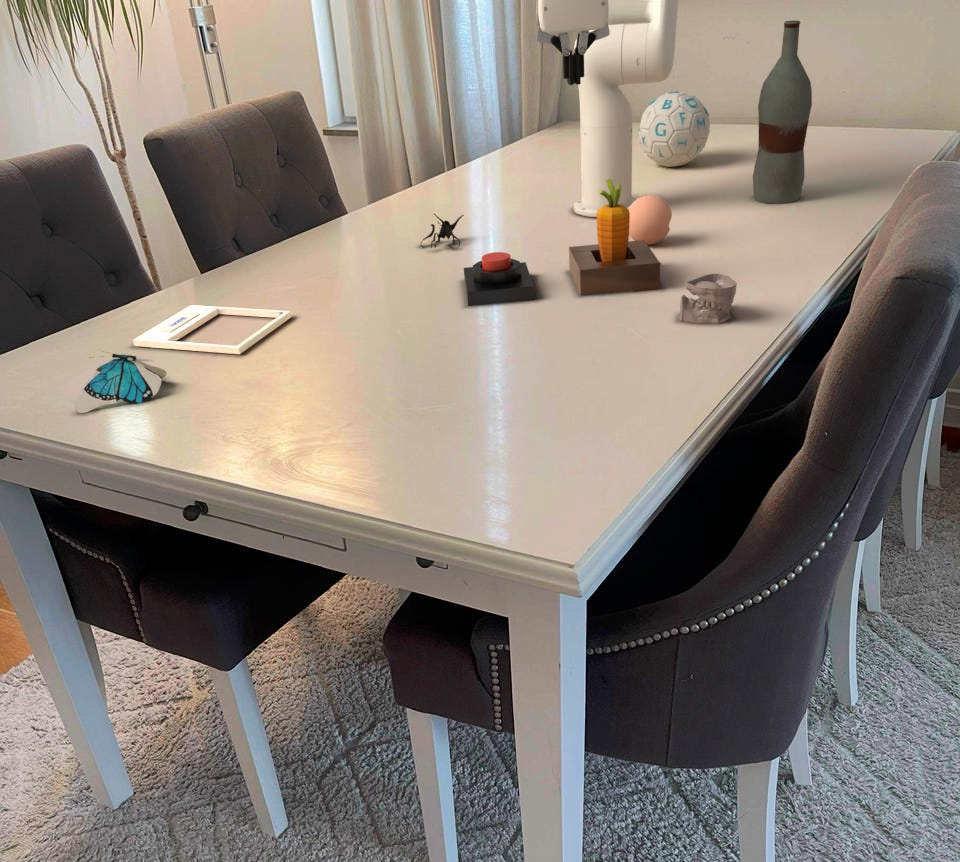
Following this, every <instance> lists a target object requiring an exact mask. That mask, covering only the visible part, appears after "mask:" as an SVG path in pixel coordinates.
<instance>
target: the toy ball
mask: <svg viewBox="0 0 960 862" xmlns="http://www.w3.org/2000/svg"><path fill="white" fill-rule="evenodd" d="M636 199H637V200H635V201H634V202H633V203H632V204H631V205H630V207H629V208H628V210H629V212H630V224H629V238H631V239H632V240H633V241H640V240H644V241H645V242H646V244H647V245H655V244H656V243H659V242H661V241H662V240H664V238H665V237H667V235H668V234H669V232H670V230H671V228H670V223H671V221H672V216H673V213H672V209H671V207H670V205H669V203H668V202H667V201H666V200H665V199H663V198H661V197H660V196H657V195H652V194H651V195H649V194H647V195H643V196H641V197H638V198H636Z"/></svg>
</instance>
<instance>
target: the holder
mask: <svg viewBox="0 0 960 862" xmlns="http://www.w3.org/2000/svg"><path fill="white" fill-rule="evenodd" d="M648 245H649V244H646V242H645V241H644V240H640V241H635V240H630V241H628V246H627V252H626V256H625V260H617V261H606V262H602V259H601V255H600V250H599V244H598V243H597V244H596V243H595V244H588V245H587V244H586V245H585V244H584V245H575V246H569V247H568V263H569V264H568V265H569V267H568V268H569V273H570V275H571V277H572V280H573V282H574V284H575V286H576V289H577V291H578V293H579V296H581V297H582V296H583V297H584V296H593V295H605V294H615V293H626V292H641V291H650V290H660V287H661V262H660V260H659V259H658V258H657V257H656V255H655V253H654V252H653V250H652V249H651V248H650V247H649V246H648Z"/></svg>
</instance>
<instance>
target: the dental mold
mask: <svg viewBox="0 0 960 862" xmlns="http://www.w3.org/2000/svg"><path fill="white" fill-rule="evenodd" d="M737 284H738V283H737V281H735V280H734V279H732V278H731V277H730V276H729V275H725V274H724V273H708V274H704V275H701V276H698V277H696V278H693V279H690V280H688V281H685V289H686V290H687V291H688V292H690V294H691V295H693V296H697V297H698V298H697V299H694V298H692V297H687V296H686V294H682V295H681V296H680V305H679V321H680V322H685V323H691V324H703V325H704V324H716V325H717V324H718V325H719V324H721V323H726V322H727V321H728V320H729V319H732V315H731V314H730V312H731V308H732V304H733V303H734V300H735V295H736V294H737Z"/></svg>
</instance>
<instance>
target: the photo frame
mask: <svg viewBox="0 0 960 862" xmlns="http://www.w3.org/2000/svg"><path fill="white" fill-rule="evenodd" d="M218 315H227V316H228V315H230V316H243V317H245V316H246V317H260V318H261V317H262V318H274V319H272V320H271V321H269V323H267V324H266V325H264V326H263V327H262V328H260V329H259V330H257V331H255V332H254V333H253V334H252V335H250V336H249V337H247V338H246V339H244V340H243V341H242V342H241V343H239V344H237V345H229V344H216V343H215V344H214V343H202V342H190V341H179V340H180V339H182V338H184V337H185V336H187V334H190V333H191V332H192V331H194V330H196V329H197V328H199V327H201V326H202V325H204V324H205V323H207V322H208V321H210V320H211V319H213V318H214V317H216V316H218ZM291 318H292V312H291V310H282V309H281V310H277V309H265V308H264V309H262V308H246V307H229V306H215V305H213V306H212V305H211V306H210V305H197V304H196V305H195V304H191V305H189V306H186V307H185V308H183V309H182V310H181V311H178V312H177V313H175V314H174V315H172V316H170V317H169V318H166V319H165V320H164V321H162V322H160V323H159V324H157V325H155V326H154V327H152V328H151V329H150V328H149V330H147V331H145V332H144V333H141V334H140V335H139V336H137V337H135V338H134V339H132V342H133V346H134V347H143V348H154V349H155V348H156V349H169V350H182V351H191V352H192V351H194V352H206V353H219V354H231V355H241V354H242V353H244V352H245V351H246V350H248V349H250V348H251V347H252V346H254V345H255V344H256V343H257V342H259V341H260V340H262V339H263V338H264V337H266V336H267V335H269V334H270V333H272V332H273V331H274V330H276V329H277V328H278V327H280V326H281V325H282V324H284V323H285V322H287V321H288V320H289V319H291Z"/></svg>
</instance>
